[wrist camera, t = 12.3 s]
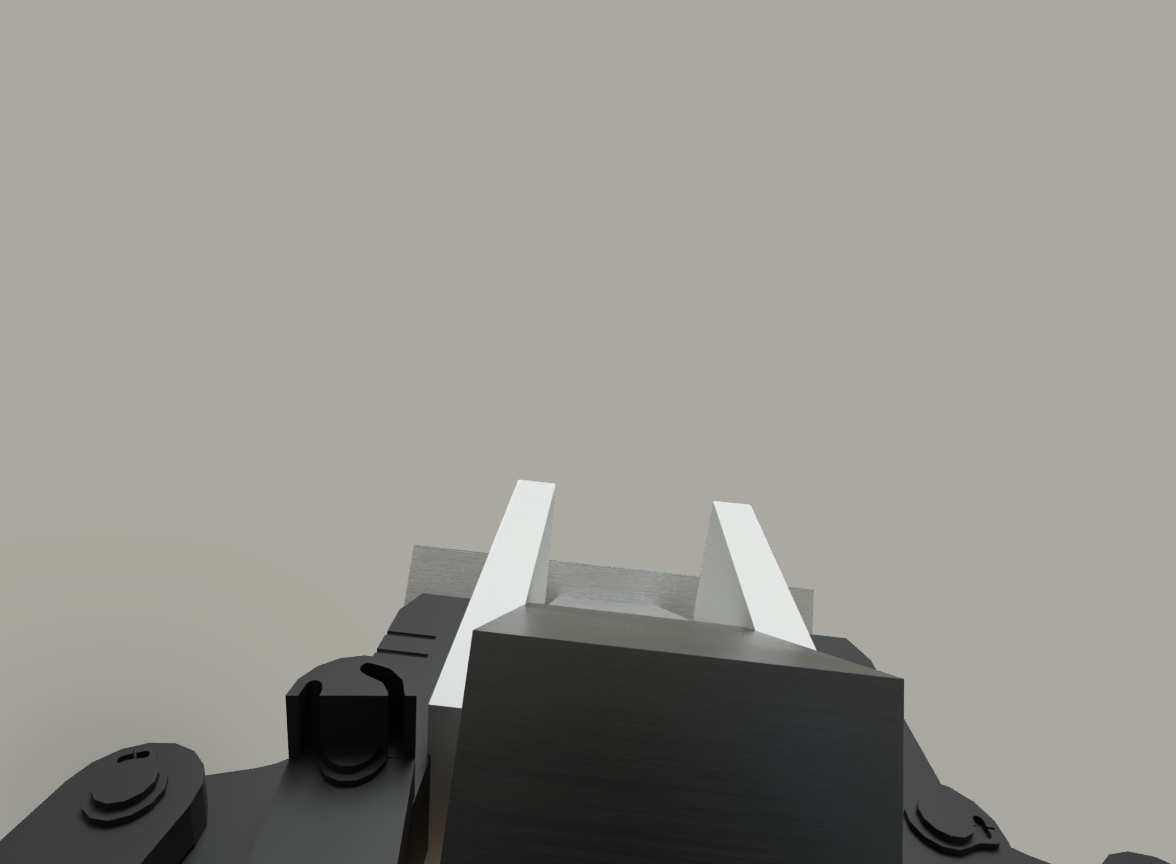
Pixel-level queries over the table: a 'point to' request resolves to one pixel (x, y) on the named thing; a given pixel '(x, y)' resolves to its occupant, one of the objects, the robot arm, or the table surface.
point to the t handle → (661, 731)
